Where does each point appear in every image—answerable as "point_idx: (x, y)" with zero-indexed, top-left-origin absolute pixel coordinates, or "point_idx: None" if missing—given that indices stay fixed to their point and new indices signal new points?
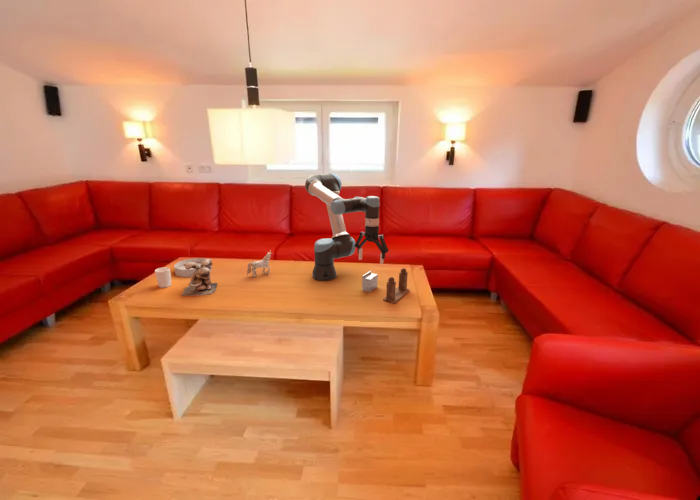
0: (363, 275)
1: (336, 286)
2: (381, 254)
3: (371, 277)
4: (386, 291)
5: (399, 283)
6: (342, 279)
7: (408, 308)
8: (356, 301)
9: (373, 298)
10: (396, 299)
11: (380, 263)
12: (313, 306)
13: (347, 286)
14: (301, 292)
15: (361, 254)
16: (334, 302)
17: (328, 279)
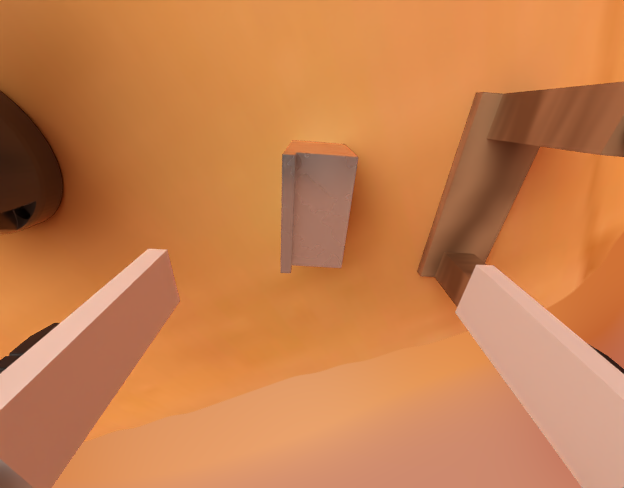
0: (285, 267)
1: (156, 243)
2: (598, 475)
3: (336, 235)
4: (455, 304)
5: (522, 142)
6: (101, 143)
7: (530, 284)
8: (319, 317)
9: (371, 272)
10: (481, 257)
11: (468, 321)
12: (218, 387)
13: (199, 218)
14: None
15: (127, 317)
16: (254, 350)
17: (55, 204)
